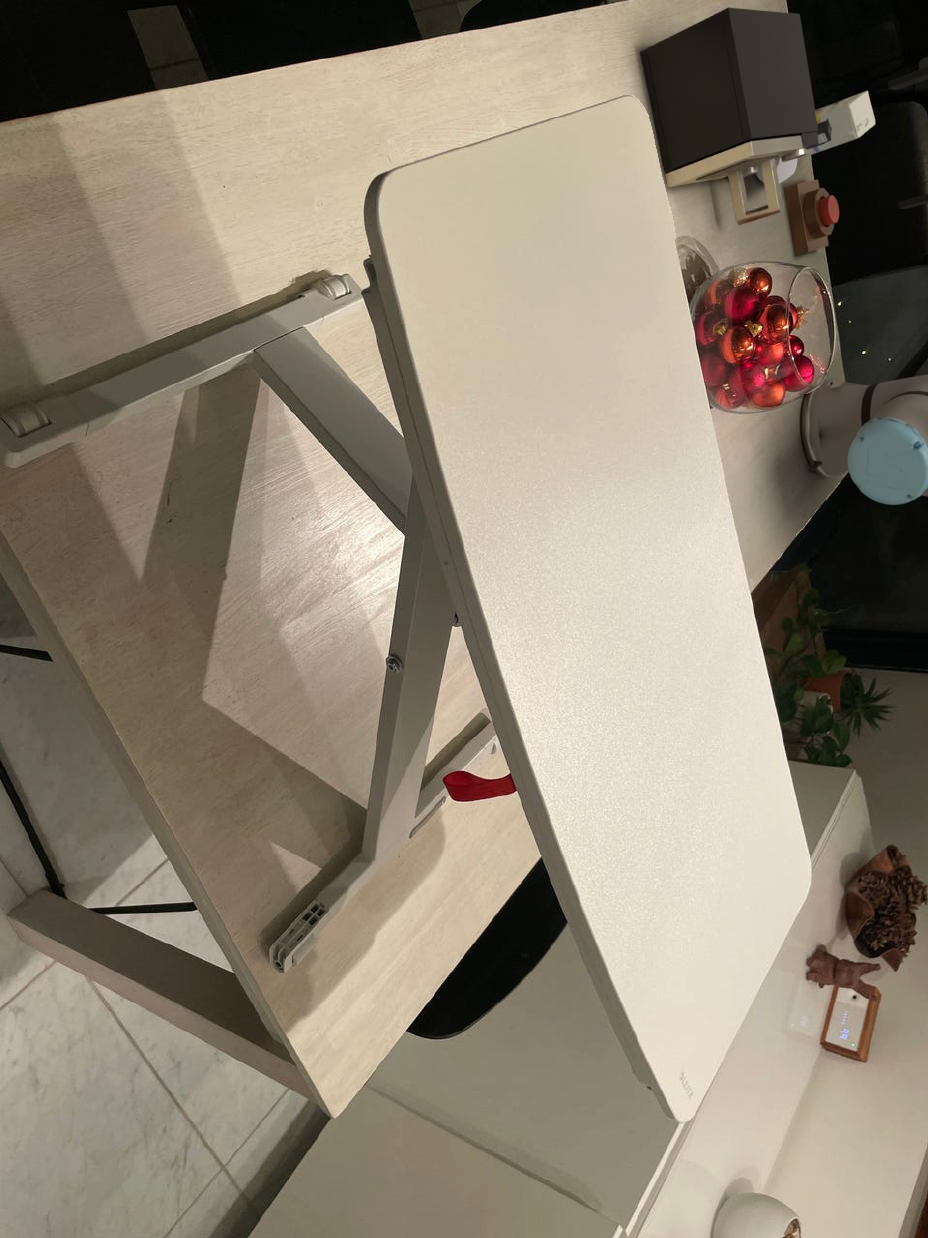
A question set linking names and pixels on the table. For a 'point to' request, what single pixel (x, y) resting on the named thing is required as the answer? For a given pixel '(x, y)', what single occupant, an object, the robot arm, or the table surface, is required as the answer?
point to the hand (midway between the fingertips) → (896, 146)
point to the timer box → (806, 216)
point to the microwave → (730, 86)
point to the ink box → (842, 122)
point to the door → (733, 166)
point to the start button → (828, 210)
